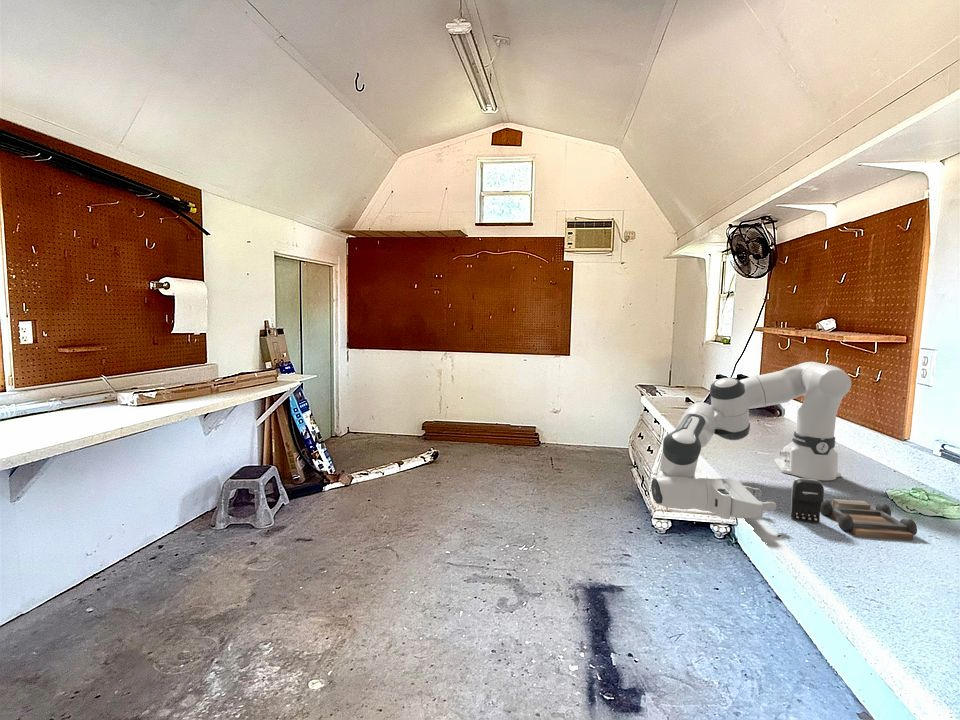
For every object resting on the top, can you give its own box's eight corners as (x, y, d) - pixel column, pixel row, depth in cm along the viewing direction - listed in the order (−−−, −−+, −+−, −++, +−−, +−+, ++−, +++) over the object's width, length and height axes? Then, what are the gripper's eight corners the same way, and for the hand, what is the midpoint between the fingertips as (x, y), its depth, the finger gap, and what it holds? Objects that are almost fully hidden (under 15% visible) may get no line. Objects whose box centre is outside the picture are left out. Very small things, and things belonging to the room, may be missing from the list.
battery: (792, 522, 135) (796, 481, 134) (788, 516, 138) (792, 476, 137) (822, 525, 133) (826, 484, 131) (817, 520, 136) (821, 479, 135)
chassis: (815, 509, 144) (816, 495, 143) (877, 513, 141) (879, 499, 141) (849, 535, 127) (850, 520, 127) (920, 541, 125) (922, 525, 124)
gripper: (702, 492, 149) (751, 495, 147) (725, 521, 129) (783, 525, 127) (703, 471, 148) (753, 474, 146) (727, 497, 128) (785, 501, 126)
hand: (767, 498), depth 136 cm, fingers open, 8 cm apart
